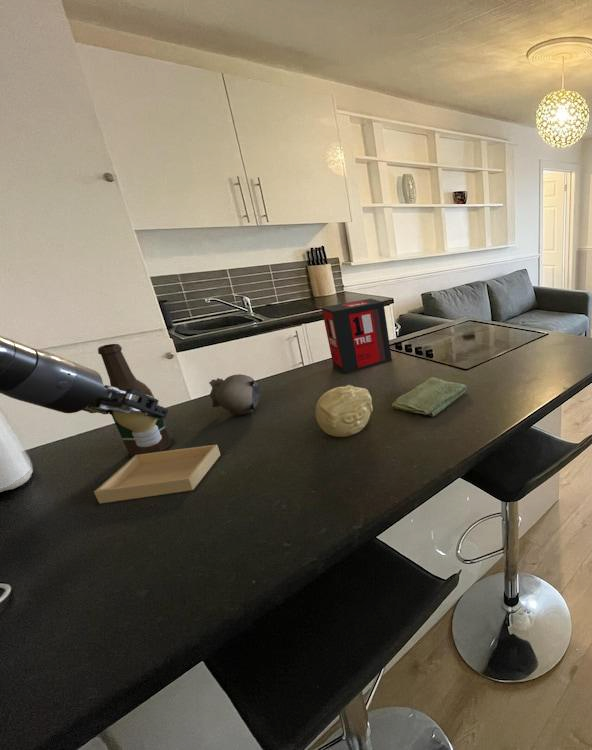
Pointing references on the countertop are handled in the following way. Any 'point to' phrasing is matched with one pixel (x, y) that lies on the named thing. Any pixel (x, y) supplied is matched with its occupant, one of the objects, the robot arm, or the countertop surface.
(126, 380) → the beer bottle
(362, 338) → the cleaning product box
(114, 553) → the countertop surface
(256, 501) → the countertop surface
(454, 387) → the washcloth
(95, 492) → the pale tray
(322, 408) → the sculpture
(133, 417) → the light bulb
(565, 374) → the countertop surface
